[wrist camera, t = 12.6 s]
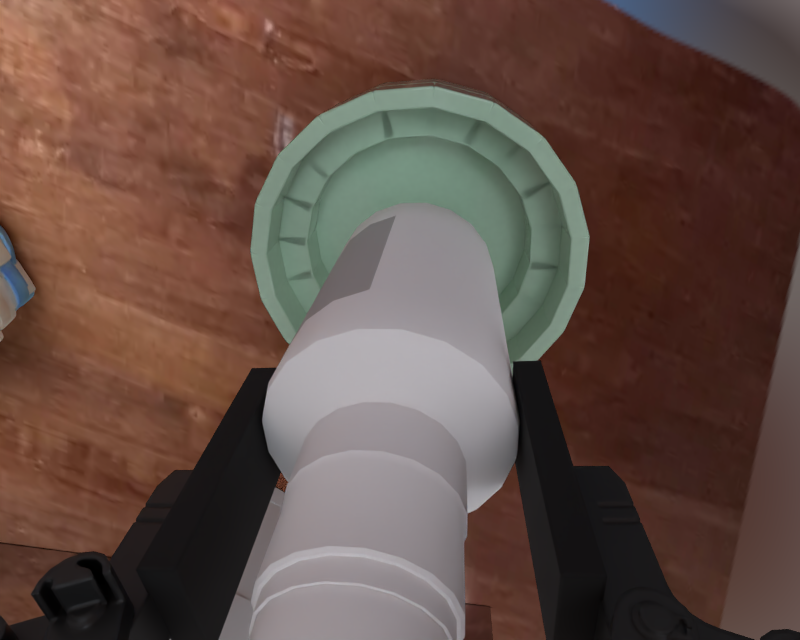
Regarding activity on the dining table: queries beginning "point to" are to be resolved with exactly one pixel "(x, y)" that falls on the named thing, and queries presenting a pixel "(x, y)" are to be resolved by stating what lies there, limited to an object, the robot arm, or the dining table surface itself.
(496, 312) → the white bottle
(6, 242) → the basket
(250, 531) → the robot arm
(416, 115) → the bowl
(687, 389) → the dining table surface
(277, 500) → the cup
